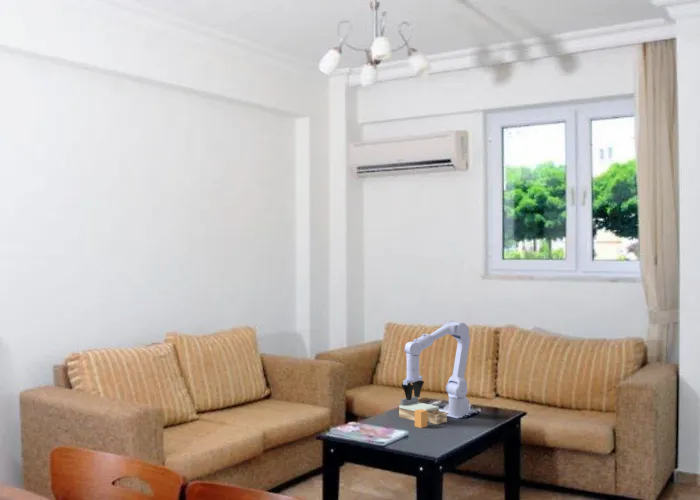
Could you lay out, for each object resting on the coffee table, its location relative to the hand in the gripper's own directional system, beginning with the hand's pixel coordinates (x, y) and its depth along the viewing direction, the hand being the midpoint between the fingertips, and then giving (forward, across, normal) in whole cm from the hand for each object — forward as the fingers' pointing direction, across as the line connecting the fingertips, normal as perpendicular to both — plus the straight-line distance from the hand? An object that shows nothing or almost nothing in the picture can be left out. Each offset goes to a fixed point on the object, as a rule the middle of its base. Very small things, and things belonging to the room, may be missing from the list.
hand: (412, 398), depth 333 cm
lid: (+6, +7, +1) cm, 10 cm away
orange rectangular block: (+10, -6, -8) cm, 14 cm away
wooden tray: (+10, +6, -2) cm, 12 cm away
